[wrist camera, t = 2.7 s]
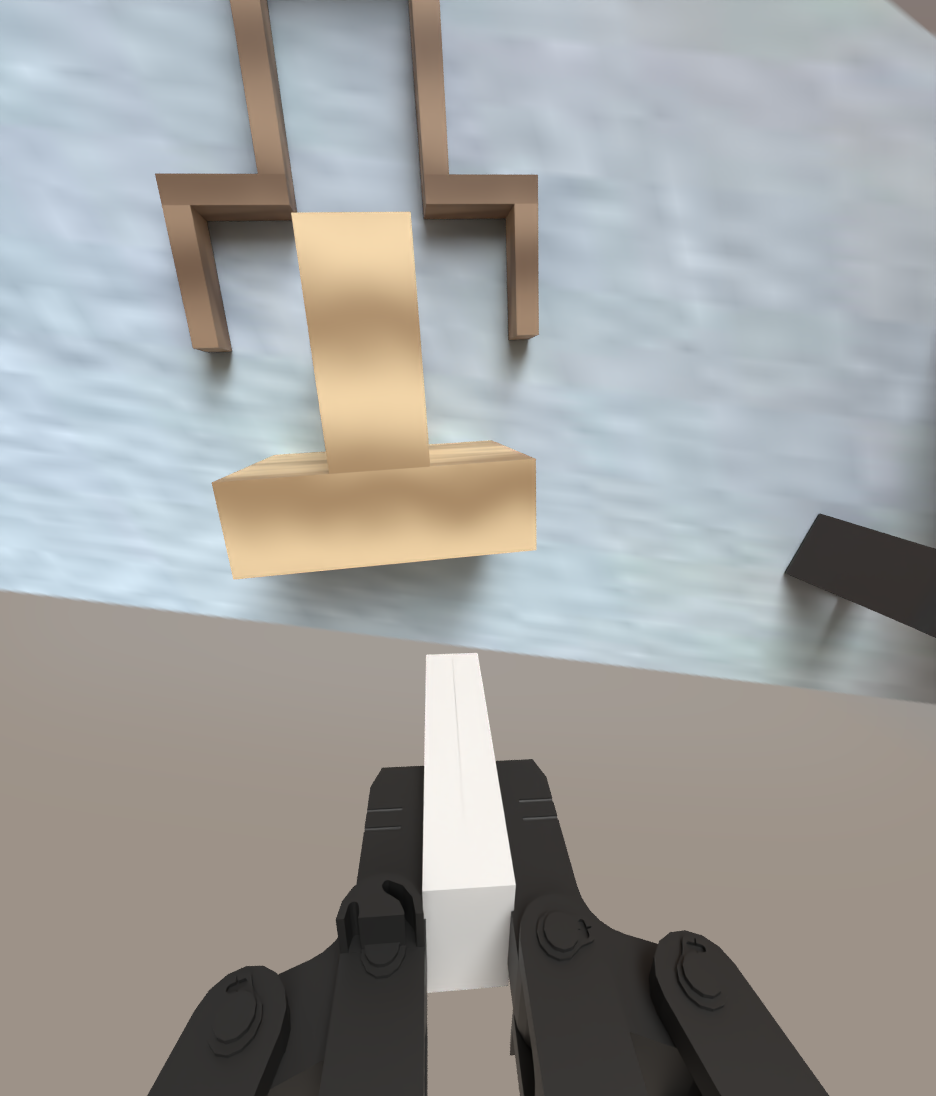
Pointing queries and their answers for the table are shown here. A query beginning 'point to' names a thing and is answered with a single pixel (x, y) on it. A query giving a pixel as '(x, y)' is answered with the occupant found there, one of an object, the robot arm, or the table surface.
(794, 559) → the phone stand
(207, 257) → the walnut T frame
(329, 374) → the oak T block
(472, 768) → the robot arm
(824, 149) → the table surface
